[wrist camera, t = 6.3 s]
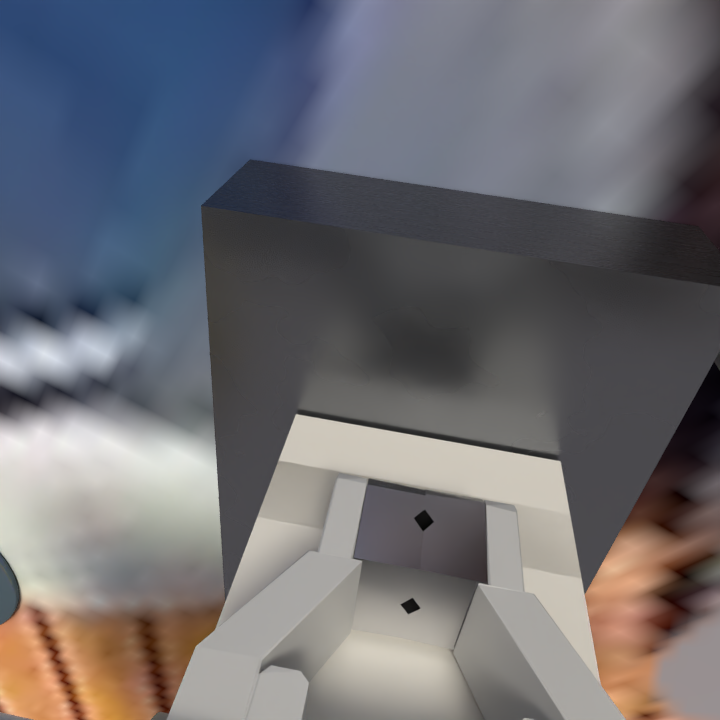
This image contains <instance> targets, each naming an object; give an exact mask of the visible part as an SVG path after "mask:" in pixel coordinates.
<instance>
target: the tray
mask: <svg viewBox="0 0 720 720" xmlns="http://www.w3.org/2000/svg"><path fill="white" fill-rule="evenodd" d="M714 362H715V364H716V365H717V367H718V369H719V370H720V352H719V353H718V355H717V357H716V359H715V361H714Z"/></svg>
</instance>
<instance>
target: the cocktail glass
mask: <svg viewBox="0 0 720 720" xmlns="http://www.w3.org/2000/svg"><path fill="white" fill-rule="evenodd" d="M18 601H19V590H18V585H17V582H16V579H15V576H14V574H13V572H12V571H11V569H10V567H9V565H8V564H7V562H6V561H5V559H4V558H3V557H2V555H1V554H0V625H1V624H2V623H4V622H5V621H6V620H8V619H9V618H10V617H11V616H12V614H13V613H14V611H15V610H16V608H17V605H18Z"/></svg>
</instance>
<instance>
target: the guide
mask: <svg viewBox="0 0 720 720" xmlns="http://www.w3.org/2000/svg"><path fill="white" fill-rule="evenodd" d="M201 212H202V228H203V245H204V261H205V277H206V294H207V310H208V326H209V343H210V359H211V375H212V392H213V408H214V425H215V441H216V457H217V474H218V490H219V506H220V523H221V539H222V555H223V572H224V588H225V602H226V599H227V596H228V594H229V591H230V588H231V586H232V583H233V580H234V578H235V575H236V572H237V570H238V567H239V564H240V562H241V559H242V556H243V554H244V551H245V548H246V546H247V543H248V540H249V538H250V535H251V532H252V530H253V527H254V524H255V522H256V519H257V517H258V514H259V511H260V509H261V506H262V503H263V501H264V498H265V495H266V493H267V490H268V487H269V485H270V482H271V479H272V477H273V474H274V471H275V469H276V466H277V463H278V461H279V458H280V455H281V453H282V450H283V447H284V445H285V442H286V439H287V437H288V434H289V431H290V429H291V426H292V423H293V421H294V418H295V415H296V414H298V415H304V416H309V417H315V418H320V419H326V420H332V421H337V422H343V423H348V424H354V425H360V426H365V427H371V428H377V429H382V430H388V431H393V432H399V433H405V434H410V435H416V436H422V437H427V438H433V439H438V440H444V441H450V442H455V443H461V444H466V445H472V446H478V447H483V448H489V449H495V450H500V451H506V452H511V453H517V454H523V455H528V456H534V457H539V458H545V459H551V460H556V461H561V466H562V472H563V477H564V483H565V488H566V494H567V500H568V505H569V511H570V516H571V522H572V527H573V533H574V539H575V544H576V550H577V555H578V561H579V566H580V572H581V578H582V583H583V589H584V594H585V593H586V591H587V589H588V587H589V586H590V584H591V582H592V580H593V578H594V577H595V575H596V573H597V571H598V569H599V568H600V566H601V564H602V562H603V560H604V559H605V557H606V555H607V553H608V551H609V550H610V548H611V546H612V544H613V542H614V541H615V539H616V537H617V535H618V533H619V532H620V530H621V528H622V526H623V524H624V523H625V521H626V519H627V517H628V515H629V514H630V512H631V510H632V508H633V506H634V505H635V503H636V501H637V499H638V497H639V496H640V494H641V492H642V490H643V488H644V487H645V485H646V483H647V481H648V479H649V478H650V476H651V474H652V472H653V470H654V469H655V467H656V465H657V463H658V461H659V460H660V458H661V456H662V454H663V452H664V451H665V449H666V447H667V445H668V443H669V442H670V440H671V438H672V436H673V434H674V433H675V431H676V429H677V427H678V425H679V424H680V422H681V420H682V418H683V416H684V415H685V413H686V411H687V409H688V407H689V406H690V404H691V402H692V400H693V398H694V397H695V395H696V393H697V391H698V389H699V388H700V386H701V384H702V382H703V380H704V379H705V377H706V375H707V373H708V371H709V370H710V368H711V366H712V364H713V362H714V361H715V359H716V357H717V355H718V353H719V352H720V252H719V250H718V249H717V248H716V247H715V246H714V244H713V243H712V242H711V241H710V240H709V238H708V237H707V236H706V235H705V234H704V233H703V231H702V230H701V229H700V228H699V227H698V226H692V225H685V224H678V223H671V222H665V221H658V220H651V219H645V218H638V217H631V216H624V215H618V214H611V213H604V212H598V211H591V210H584V209H578V208H571V207H564V206H557V205H551V204H544V203H537V202H531V201H524V200H517V199H510V198H504V197H497V196H490V195H484V194H477V193H470V192H463V191H457V190H450V189H443V188H437V187H430V186H423V185H417V184H410V183H403V182H396V181H390V180H383V179H376V178H370V177H363V176H356V175H349V174H343V173H336V172H329V171H323V170H316V169H309V168H303V167H296V166H289V165H282V164H276V163H269V162H262V161H256V160H249V161H248V162H247V163H246V164H245V165H244V166H243V167H242V168H241V169H240V170H239V171H237V172H236V173H235V174H234V175H233V176H232V177H231V178H230V179H229V180H228V181H227V182H226V183H225V184H224V185H223V186H222V187H221V188H219V189H218V190H217V191H216V192H215V193H214V194H213V195H212V196H211V197H210V198H209V199H208V200H207V201H206V202H205V203H204V204H202V205H201Z"/></svg>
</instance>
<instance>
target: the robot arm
mask: <svg viewBox="0 0 720 720" xmlns="http://www.w3.org/2000/svg"><path fill="white" fill-rule="evenodd" d="M367 482H368V484H367ZM366 488H367V489H366ZM351 629H352V630H357V631H363V632H369V633H375V634H381V635H387V636H392V637H398V638H403V639H408V640H412V641H416V642H421V643H425V644H430V645H434V646H438V647H443V648H447V649H451V650H454V651H453V654H454V656H455V658H456V660H457V662H458V664H459V666H460V668H461V670H462V673H463V675H464V677H465V679H466V681H467V683H468V685H469V687H470V689H471V692H472V694H473V696H474V698H475V700H476V702H477V704H478V706H479V708H480V711H481V713H482V715H483V717H484V719H485V720H626V719H625V718H624V716H623V715H622V714H621V712H620V711H619V709H618V708H617V707H616V705H615V704H614V703H613V701H612V700H611V698H610V697H609V696H608V694H607V693H606V692H605V690H604V689H603V688H602V686H601V685H600V683H599V682H598V681H597V679H596V678H595V677H594V675H593V674H592V672H591V671H590V670H589V668H588V667H587V666H586V664H585V663H584V661H583V660H582V659H581V657H580V656H579V655H578V653H577V652H576V651H575V649H574V648H573V646H572V645H571V644H570V642H569V641H568V640H567V638H566V637H565V635H564V634H563V633H562V631H561V630H560V629H559V627H558V626H557V625H556V623H555V622H554V620H553V619H552V618H551V616H550V615H549V614H548V612H547V611H546V609H545V608H544V607H543V605H542V604H541V603H540V601H539V600H538V598H537V597H536V596H535V594H532V593H528V592H525V589H524V578H523V568H522V557H521V546H520V536H519V525H518V515H517V509H516V508H515V506H514V505H511V504H505V503H500V502H494V501H488V500H484V501H483V500H482V499H478V498H472V497H466V496H461V495H455V494H449V493H443V492H437V491H431V490H426V489H425V490H422V489H418V488H413V487H408V486H403V485H398V484H394V483H389V482H384V481H379V480H375V479H370V478H369V479H367V478H362V477H358V476H353V475H348V474H343V473H339V474H338V476H337V478H336V480H335V484H334V488H333V492H332V496H331V500H330V504H329V508H328V512H327V516H326V520H325V524H324V528H323V532H322V536H321V540H320V544H319V548H318V552H315V551H309V550H308V551H307V552H306V553H305V554H304V555H303V556H301V557H300V558H299V559H298V560H297V561H296V562H294V563H293V564H292V565H291V566H290V567H288V568H287V569H286V570H285V571H284V572H283V573H281V574H280V575H279V576H278V577H277V578H276V579H274V580H273V581H272V582H271V583H270V584H268V585H267V586H266V587H265V588H264V589H263V590H261V591H260V592H259V593H258V594H257V595H256V596H254V597H253V598H252V599H251V600H250V601H248V602H247V603H246V604H245V605H244V606H243V607H241V608H240V609H239V610H238V611H237V612H236V613H234V614H233V615H232V616H231V617H230V618H229V619H227V620H226V621H225V622H224V623H223V624H221V625H220V626H219V627H218V628H217V629H216V630H214V631H213V632H212V633H211V634H210V635H209V636H207V637H206V638H205V639H204V640H203V641H201V642H200V643H199V644H198V645H197V646H196V647H195V650H194V652H193V655H192V657H191V660H190V662H189V665H188V667H187V670H186V672H185V675H184V677H183V680H182V682H181V685H180V687H179V690H178V692H177V695H176V697H175V700H174V702H173V705H172V707H171V710H170V712H169V715H168V717H167V720H305V717H306V707H307V698H308V688H309V681H310V680H311V679H312V678H313V677H314V676H315V674H316V673H317V672H318V671H319V670H320V668H321V667H322V666H323V665H324V664H325V663H326V661H327V660H328V659H329V658H330V657H331V655H332V654H333V653H334V652H335V651H336V650H337V648H338V647H339V646H340V645H341V644H342V642H343V641H344V640H345V639H346V638H347V637H348V635H349V634H350V633H351ZM0 720H32V719H28V718H23V717H19V716H14V715H10V714H5V713H0Z"/></svg>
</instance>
